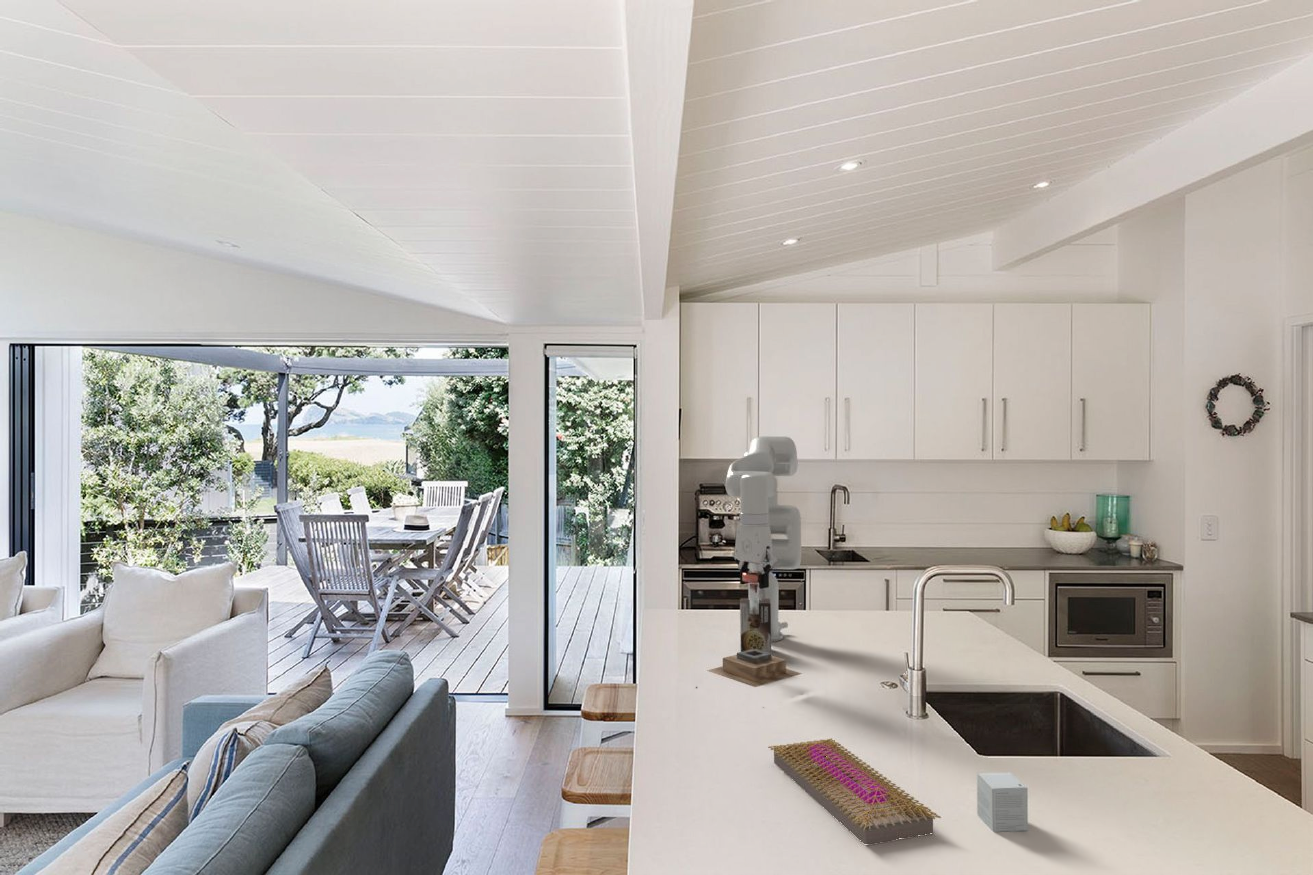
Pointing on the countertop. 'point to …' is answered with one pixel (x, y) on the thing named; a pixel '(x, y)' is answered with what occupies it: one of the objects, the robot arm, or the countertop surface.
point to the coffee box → (755, 626)
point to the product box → (1002, 802)
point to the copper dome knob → (753, 589)
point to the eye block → (754, 668)
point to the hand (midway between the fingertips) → (754, 585)
